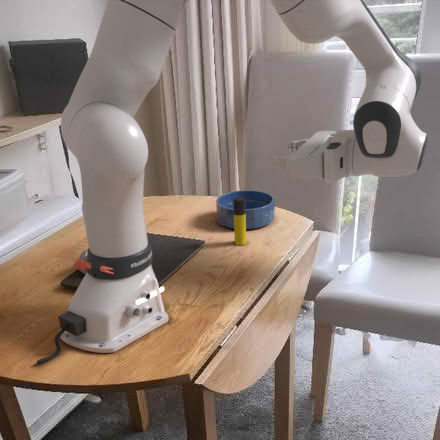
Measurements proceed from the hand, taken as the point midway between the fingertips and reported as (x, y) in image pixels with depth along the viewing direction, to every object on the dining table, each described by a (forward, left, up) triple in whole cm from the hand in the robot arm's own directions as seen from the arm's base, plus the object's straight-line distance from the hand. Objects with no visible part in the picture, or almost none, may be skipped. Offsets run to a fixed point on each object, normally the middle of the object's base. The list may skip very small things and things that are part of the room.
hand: (281, 153), depth 127 cm
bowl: (+14, +17, -22) cm, 31 cm away
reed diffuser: (-22, +37, -22) cm, 48 cm away
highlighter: (0, +11, -22) cm, 25 cm away
